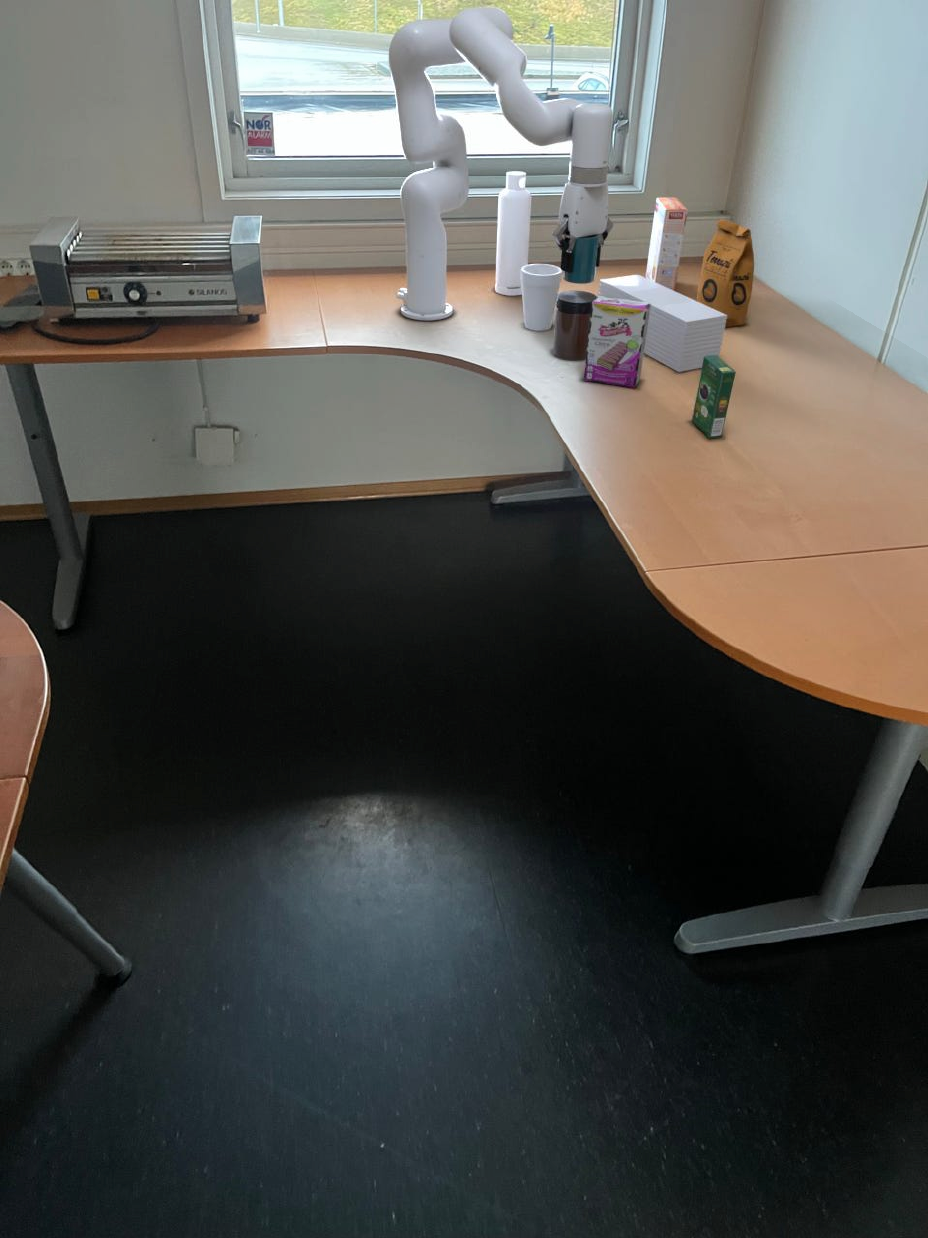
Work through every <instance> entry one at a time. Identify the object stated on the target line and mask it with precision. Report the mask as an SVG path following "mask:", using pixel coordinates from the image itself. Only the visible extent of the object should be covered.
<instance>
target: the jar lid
mask: <svg viewBox="0 0 928 1238" xmlns="http://www.w3.org/2000/svg"><path fill="white" fill-rule="evenodd" d="M596 297H597V295H596V294H594V293H592V292H589V291H584V290H564V291H561V292H558V295H557V301H556V306H555V308H556V307H557V309H559V310H561V311H563V312H567V313H574V314H584V313H590V312H591V307H592V302H593V300H595V298H596Z"/></svg>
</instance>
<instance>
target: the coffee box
mask: <svg viewBox="0 0 928 1238" xmlns="http://www.w3.org/2000/svg"><path fill="white" fill-rule="evenodd" d="M736 373H737V371H736V370H735V369H734V368H732V367H731V366H730V365H729V364H728V363H726V362H725V361H724V360H723V359H722V358H721V357H718V356H717V355H707V356H704V359H703V364H702V368H701V372H700V375H699V382H698V387H697V392H696V397H695V402H694V408H693V412H692V418H691V421H692V423H693V424H694V425H695V426H696V427H697V428H698V429H699V430H700V431H701V432H702V433H703V434H704V435H705V436H706V437H707V438H708V439H709V440H710V439H721V438H722V436H723V432H724V427H725V422H726V418H727V414H728V409H729V404H730V400H731V395H732V392H733V387H734V384H735V383H734V382H735V378H736Z"/></svg>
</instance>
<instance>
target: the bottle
mask: <svg viewBox="0 0 928 1238" xmlns="http://www.w3.org/2000/svg"><path fill="white" fill-rule="evenodd" d="M505 179H506V180H505V188H504V189H502V190H501V191H500V193H499V195H498V206H497V231H496V232H497V233H496V257H495V284H494V291H495V293H497V294H499V295H502V296H504V295H505V296H522V284H521V280H520V277H521V268H522V267H523V266H526V265H529V249H530V233H531V232H530V231H531V216H532V215H531V213H532V194H531V192H530V191H529V190H528V189H526V181H527V180H526V179H527V173H526V172H524V171H518V170H517V171H516V170H515V171H514V170H513V171H512V170H511V171H507V172H506V175H505Z"/></svg>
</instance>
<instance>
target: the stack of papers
mask: <svg viewBox="0 0 928 1238" xmlns="http://www.w3.org/2000/svg"><path fill="white" fill-rule="evenodd" d="M598 288H599V289H598V295H597V296H604V297H612V298H619V299H626V300H634V301H642V302H649V303H651V307H650V314H649V320H648V327H647V334H646V341H645V347H644V354H645V355H647V356H648V357H651V358H652V359H654V360H655V361H657V362H659V363H661V364H663V365H664V366H667V367H668V368H670V369H672V370H674V371H675V372H677V373H681V372H686V371H691V370H696V369H702V364H703V359H704V356H707V355H717V356H718V357H719V358H721V357H720V356H721V351H722V346H723V341H724V335H725V329H726V327H725V324H726V319H727V315H726V314H723V313H721V312H719V311H717V310H715V309H712V308H710V307H708V306H706V305H704V304H701V303H699V302H697V300H695V299H693V298H691V297H688V296H686V295H683V294H682V293H679V292H677V291H676V290H675V291H673V290H671V289H669V288H666V287H664V286H662V285H660V284H658V283H655V282H653V281H651V280H649V279H647V278H645V276H643V275H640V274H632V275H625V276H617V277H611V278H602V279H600V280H599V285H598Z"/></svg>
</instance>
